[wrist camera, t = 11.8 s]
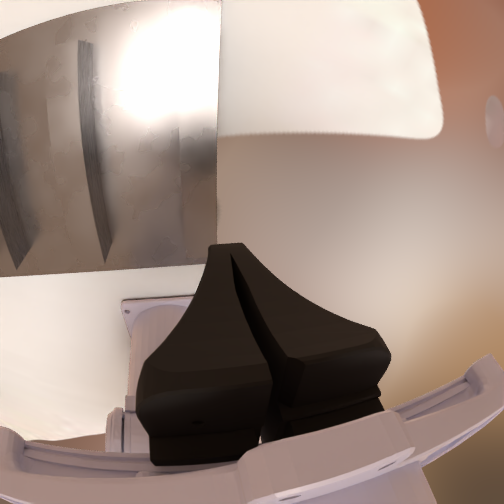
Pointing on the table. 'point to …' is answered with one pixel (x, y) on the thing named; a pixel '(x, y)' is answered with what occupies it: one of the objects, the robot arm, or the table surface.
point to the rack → (110, 139)
